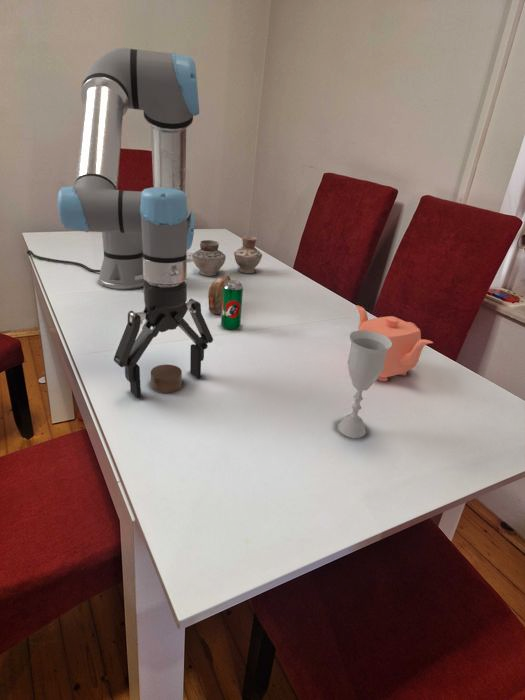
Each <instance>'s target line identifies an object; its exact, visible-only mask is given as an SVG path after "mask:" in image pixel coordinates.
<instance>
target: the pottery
mask: <svg viewBox="0 0 525 700" xmlns="http://www.w3.org/2000/svg"><path fill="white" fill-rule="evenodd" d="M241 241H242V246H241V247H239V248H238V249H236V250H235V251H234V252H233V256H234V261H235V263H236V264H237V266H238V267H239V268H238V272H240V273H243V274H253V273H255V272H256V269H255V268H256V267H258V265H259V264H260V263H261V260H262V258H263V253H262V252H261V251H259V249H257V247H256V242H257V237H255V236H250V235H247V236H246V235H245V236H242V237H241ZM219 246H220V243H219V242H218V241H216V240H212V239H204V240H201V241H200V242H199V247H200V249H198V250H196V251H194V252H193V253H192V256H191V257H192V261H193V263H194V265H195V267H196V268H197V269H198V270H199V274H200V275H203V276H206V277H207V276H209V277H212V276H217V275H218V271H219V270H220V269H221V268H222V267H223V266H224V264H225V261H226V258H227V257H226V256H227V255H225V253H224V252H222V251H221V250H219Z"/></svg>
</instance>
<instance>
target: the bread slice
mask: <svg viewBox="0 0 525 700" xmlns="http://www.w3.org/2000/svg"><path fill="white" fill-rule="evenodd" d="M228 280H231V277H230V276H229V275H226V276H225V275H220V276H218V277H217V278H216V279H215V280H214V281H213V283H211V285H210V286H209V289H208V293H207V298H208V311H209V312H210V313H211V314H218V315H221V314H222V291H223V285H224V282H225V281H228Z"/></svg>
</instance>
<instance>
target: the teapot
mask: <svg viewBox="0 0 525 700" xmlns="http://www.w3.org/2000/svg"><path fill="white" fill-rule="evenodd" d="M355 308H356V309H357V311H358V314H359V324H358V330H357V331H359V330H366V331H373V332H377V333H379V334H382V335H384V336H386V337H387V338H389V339H390V340H391V342H392V346H391V347H390V348H389V349H388V350H387V353H386V357H385V362H384V366H383V370H382V372H381V374H380V375H379V377H378V378H377V380H378V381H380V382H387V381H388V377H394V376H398V375H399V376H407V372H410V371H412V370H413V369H414V368H415V367H416V366H417V364H418V362H419V360H420V357H421V354H422V352H423V350H424V348H425V346H426V345H429V344H434V342H433V341H431V340H430V339H424V338H423V339H422V333H421V329H420V328H419V327H418V326H417V325H416V324H415V323H414V322H411V321H405V320H403V319H401V318H398V317H396V316H393V315H389V316H380V317H375V318H371V319H369V318H368V315H367V314H368V313H367V311H366V309H365V308H364V307H363V306H360V305H355Z"/></svg>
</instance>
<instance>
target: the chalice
mask: <svg viewBox="0 0 525 700" xmlns="http://www.w3.org/2000/svg"><path fill="white" fill-rule="evenodd" d="M349 339H350V347H349V353H348V359H347V367H348V373H349V377H350V380H351V383H352V387H353V388H355V390H356V393H355V395H354V396H353V399H354V402H353V403H351V408H352V412H351V413H349V414H346V415H345V416H344V417H343V418H342V419H341V420H340V422H339V423H338V425H337V431H338V432H339V433H340V434H342V435H343V436H346V437H348V438H351V439H352V438H353V439H360V438H363V437H364V436H365V435H366V432H367V431H366V428H365V422H364V420H363V418H362V417H361V416H360V415H359V411H360V410H361V409H362V406H361V401H363V399H364V397H363V391H364V392H365V391H368V390H369V389H370V388H371V387H372V386H373V385H374V384H375V382H376V381H377V380H378V379H377V378H378V377H379V375H380V374H381V372H382V370H383V366H384V362H385V357H386V353H387V350H388V349H389V348H390V347H391V346H392V342H391V340H390V339H389V338H387V337H386V336H384V335H382V334H379V333H377V332H373V331H366V330H359V331H358V330H354V331H352V332H351V333H350V334H349Z"/></svg>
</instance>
